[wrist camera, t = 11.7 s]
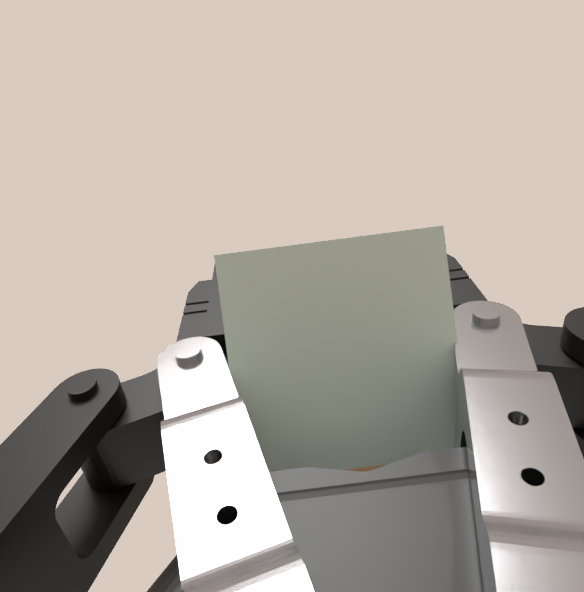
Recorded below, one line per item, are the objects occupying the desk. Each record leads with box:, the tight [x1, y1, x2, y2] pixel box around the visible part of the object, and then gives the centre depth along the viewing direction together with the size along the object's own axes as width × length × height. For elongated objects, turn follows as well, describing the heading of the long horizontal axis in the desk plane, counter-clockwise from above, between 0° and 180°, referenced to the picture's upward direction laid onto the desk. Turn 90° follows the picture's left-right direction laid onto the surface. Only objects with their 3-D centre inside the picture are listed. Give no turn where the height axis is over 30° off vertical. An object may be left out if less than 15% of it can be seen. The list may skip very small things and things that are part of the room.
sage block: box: [214, 226, 458, 472], centre depth 22 cm, size 26×4×4 cm, turn 0°
